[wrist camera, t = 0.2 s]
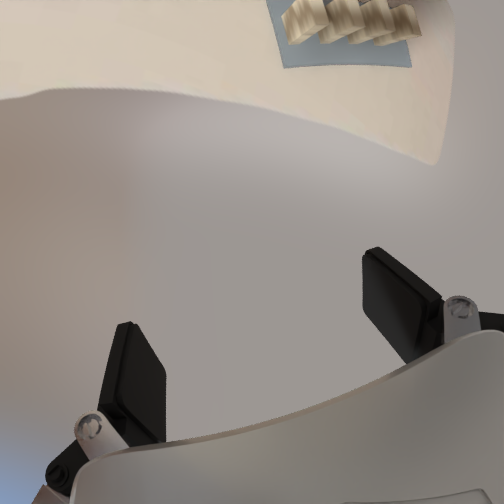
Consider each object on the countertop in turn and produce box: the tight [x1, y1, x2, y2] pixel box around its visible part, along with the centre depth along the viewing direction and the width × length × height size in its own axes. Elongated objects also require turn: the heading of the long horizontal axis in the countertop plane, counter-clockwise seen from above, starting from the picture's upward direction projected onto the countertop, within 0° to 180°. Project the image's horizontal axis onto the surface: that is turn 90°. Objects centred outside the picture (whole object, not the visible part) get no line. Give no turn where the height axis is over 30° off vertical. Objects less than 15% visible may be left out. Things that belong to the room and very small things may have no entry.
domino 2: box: [317, 0, 366, 44], centre depth 26 cm, size 5×2×10 cm, turn 12°
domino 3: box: [347, 0, 396, 44], centre depth 27 cm, size 5×2×10 cm, turn 12°
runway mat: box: [266, 0, 412, 68], centre depth 32 cm, size 12×24×1 cm, turn 102°
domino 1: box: [281, 0, 330, 45], centre depth 26 cm, size 5×2×10 cm, turn 12°
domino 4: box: [373, 4, 422, 46], centre depth 27 cm, size 5×2×10 cm, turn 12°
